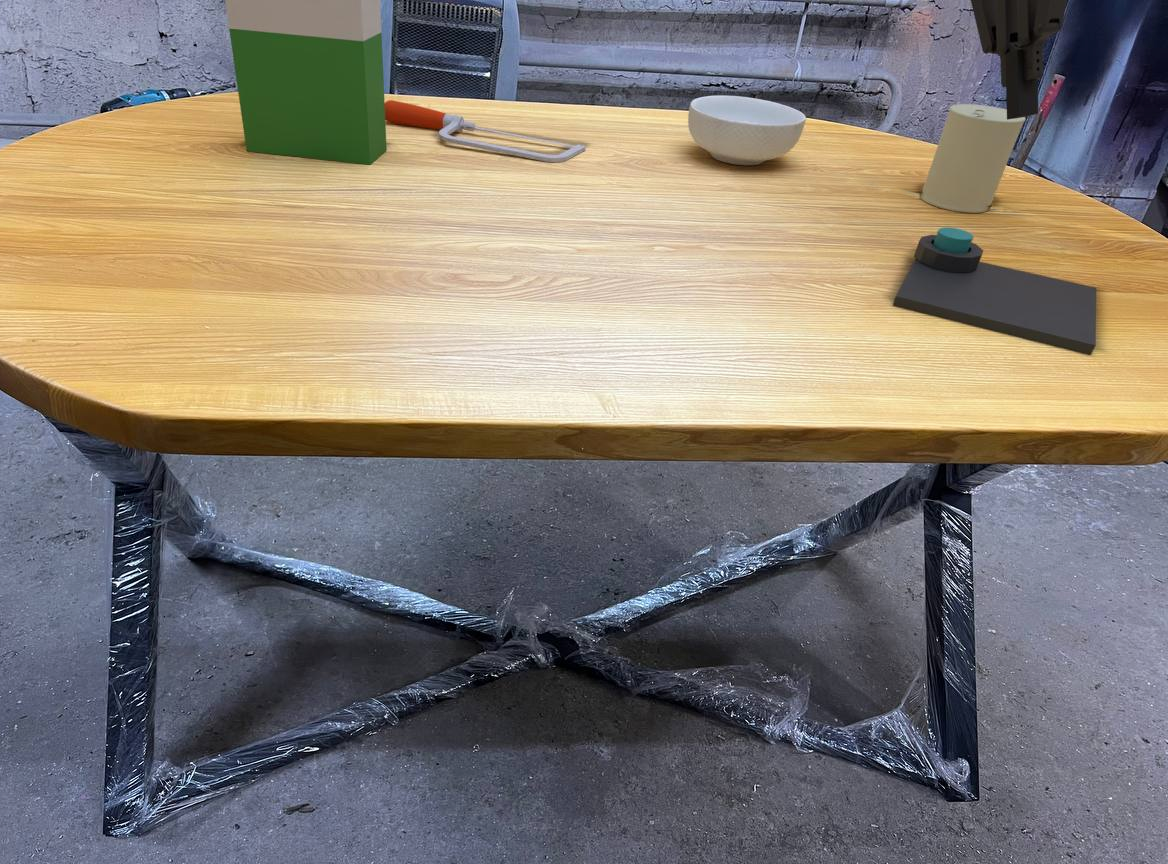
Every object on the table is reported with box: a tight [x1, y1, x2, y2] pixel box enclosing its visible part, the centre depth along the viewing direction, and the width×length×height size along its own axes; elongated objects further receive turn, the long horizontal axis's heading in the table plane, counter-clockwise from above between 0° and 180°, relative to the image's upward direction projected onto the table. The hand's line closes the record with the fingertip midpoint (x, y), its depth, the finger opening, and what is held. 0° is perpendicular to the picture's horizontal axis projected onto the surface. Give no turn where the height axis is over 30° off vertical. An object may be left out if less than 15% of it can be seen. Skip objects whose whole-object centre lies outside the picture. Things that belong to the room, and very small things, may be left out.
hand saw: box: [385, 99, 587, 163], centre depth 123 cm, size 33×3×10 cm
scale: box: [892, 234, 1097, 356], centre depth 85 cm, size 18×17×3 cm
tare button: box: [933, 227, 974, 253], centre depth 90 cm, size 4×4×2 cm
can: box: [919, 103, 1026, 214], centre depth 110 cm, size 9×9×12 cm
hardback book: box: [224, 0, 388, 166], centre depth 108 cm, size 18×7×24 cm, turn 81°
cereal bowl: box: [687, 95, 807, 166], centre depth 122 cm, size 17×17×7 cm
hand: (1022, 116), depth 88 cm, fingers closed
